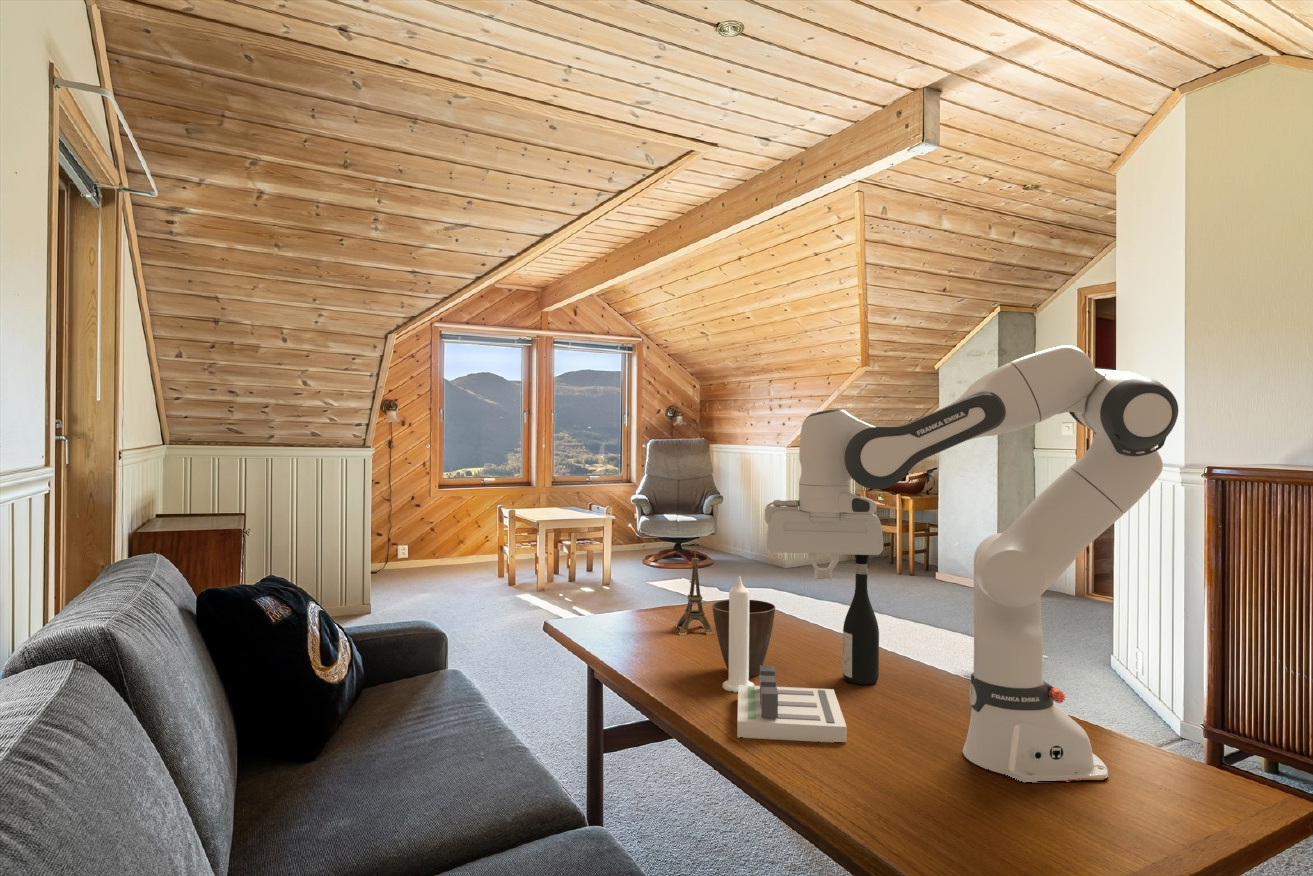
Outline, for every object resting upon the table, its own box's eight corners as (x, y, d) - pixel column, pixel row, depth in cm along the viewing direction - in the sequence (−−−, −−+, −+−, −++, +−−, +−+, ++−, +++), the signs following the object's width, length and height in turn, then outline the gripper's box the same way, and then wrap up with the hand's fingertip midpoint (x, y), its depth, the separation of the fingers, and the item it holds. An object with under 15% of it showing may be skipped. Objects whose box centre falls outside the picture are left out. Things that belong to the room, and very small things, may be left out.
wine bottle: (841, 684, 174) (842, 552, 174) (843, 673, 182) (844, 547, 182) (878, 687, 172) (879, 554, 172) (878, 677, 180) (880, 549, 180)
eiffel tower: (710, 626, 227) (710, 541, 227) (715, 635, 217) (716, 546, 217) (674, 626, 226) (675, 541, 226) (678, 635, 216) (678, 547, 216)
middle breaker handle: (774, 697, 155) (775, 676, 155) (775, 704, 151) (775, 682, 151) (759, 697, 155) (760, 675, 155) (760, 704, 151) (760, 681, 151)
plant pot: (704, 678, 178) (705, 609, 177) (720, 660, 192) (720, 597, 192) (768, 686, 173) (769, 615, 173) (779, 667, 187) (780, 601, 187)
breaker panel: (833, 703, 162) (833, 688, 162) (846, 743, 141) (846, 725, 141) (738, 699, 164) (738, 684, 164) (737, 737, 143) (737, 720, 143)
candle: (753, 694, 167) (754, 579, 167) (720, 691, 169) (721, 578, 168) (755, 683, 174) (756, 574, 174) (724, 681, 176) (725, 572, 175)
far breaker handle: (774, 686, 162) (774, 665, 162) (774, 692, 158) (775, 671, 158) (759, 685, 162) (759, 665, 162) (760, 692, 158) (760, 670, 158)
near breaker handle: (776, 710, 148) (777, 687, 148) (777, 717, 144) (777, 694, 144) (761, 709, 148) (761, 686, 148) (761, 717, 144) (761, 693, 144)
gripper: (765, 501, 134) (764, 580, 134) (885, 503, 131) (884, 584, 131) (764, 498, 140) (763, 573, 140) (879, 500, 138) (878, 577, 138)
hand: (823, 578), depth 136 cm, fingers closed
